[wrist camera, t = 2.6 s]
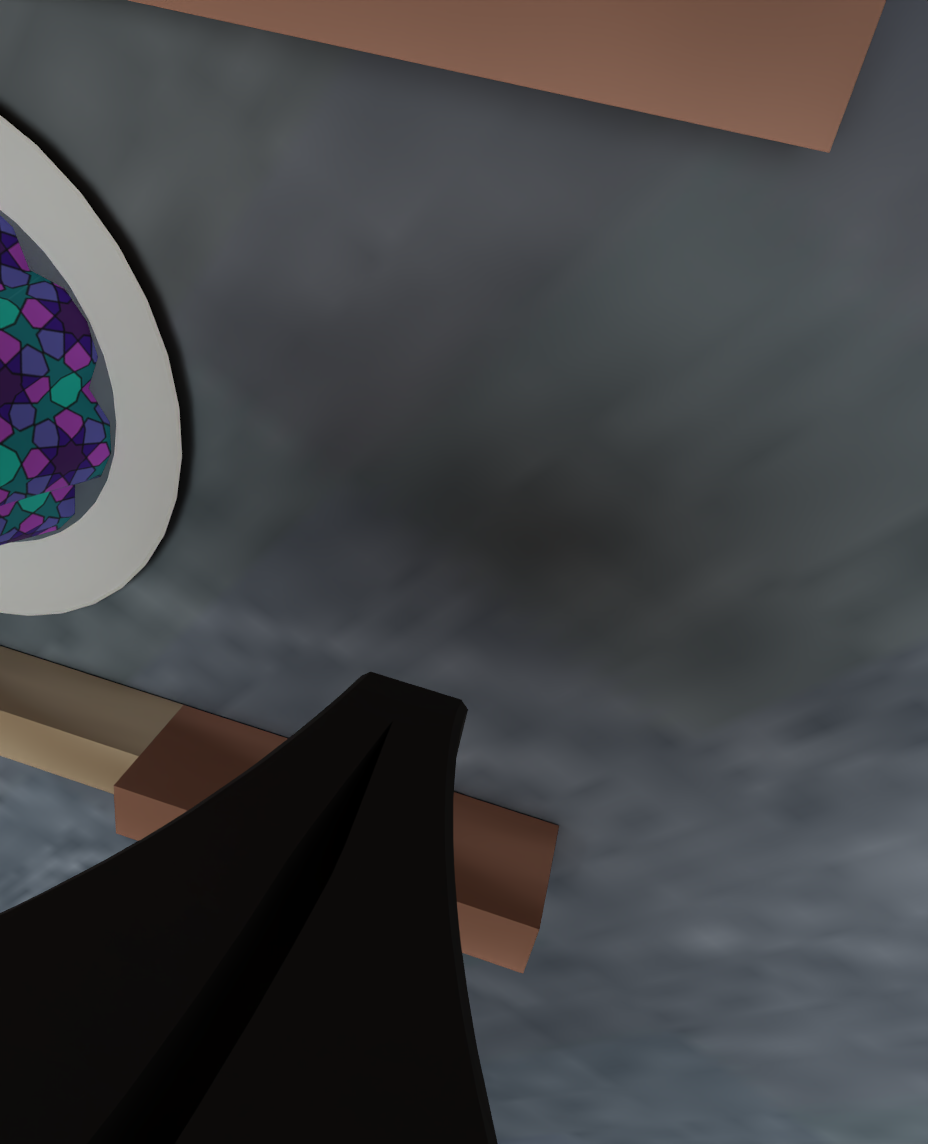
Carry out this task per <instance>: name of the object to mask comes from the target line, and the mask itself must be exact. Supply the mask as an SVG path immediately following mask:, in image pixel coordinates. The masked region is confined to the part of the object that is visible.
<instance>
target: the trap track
mask: <svg viewBox="0 0 928 1144" xmlns="http://www.w3.org/2000/svg"><path fill="white" fill-rule="evenodd" d="M129 1H133V2H138V3H142V4H147V5H152V6H156V7H161V8H165V9H170V10H175V11H179V12H184V13H188V14H193V15H198V16H202V17H207V18H211V19H216V20H221V21H225V22H230V23H235V24H239V25H244V26H248V27H253V28H258V29H262V30H267V31H271V32H276V33H281V34H285V35H290V36H294V37H299V38H304V39H308V40H313V41H317V42H322V43H327V44H331V45H336V46H340V47H345V48H350V49H354V50H359V51H363V52H368V53H373V54H377V55H382V56H386V57H391V58H396V59H400V60H405V61H409V62H414V63H419V64H423V65H428V66H432V67H437V68H442V69H446V70H451V71H455V72H460V73H465V74H469V75H474V76H478V77H483V78H488V79H492V80H497V81H501V82H506V83H511V84H515V85H520V86H524V87H529V88H534V89H538V90H543V91H547V92H552V93H557V94H561V95H566V96H570V97H575V98H580V99H584V100H589V101H593V102H598V103H603V104H607V105H612V106H617V107H621V108H626V109H630V110H635V111H640V112H644V113H649V114H653V115H658V116H663V117H667V118H672V119H676V120H681V121H686V122H690V123H695V124H699V125H704V126H709V127H713V128H718V129H722V130H727V131H732V132H736V133H741V134H745V135H750V136H755V137H759V138H764V139H768V140H773V141H778V142H782V143H787V144H791V145H796V146H801V147H805V148H810V149H814V150H819V151H824V152H828V153H829V152H830V150H831V147H832V144H833V142H834V139H835V136H836V134H837V131H838V128H839V125H840V123H841V120H842V117H843V115H844V112H845V109H846V107H847V104H848V101H849V99H850V96H851V93H852V91H853V88H854V85H855V83H856V80H857V77H858V75H859V72H860V69H861V67H862V64H863V61H864V59H865V56H866V53H867V50H868V48H869V45H870V42H871V40H872V37H873V34H874V32H875V29H876V26H877V24H878V21H879V18H880V16H881V13H882V10H883V8H884V5H885V2H886V0H129ZM287 739H288V738H285V737H281V736H278V735H275V734H272V733H269V732H266V731H263V730H260V729H257V728H254V727H250V726H247V725H244V724H241V723H238V722H235V721H232V720H229V719H226V718H222V717H219V716H216V715H213V714H210V713H207V712H204V711H201V710H198V709H195V708H191V707H188V706H185V705H182V704H179V703H176V702H173V701H170V700H167V699H164V698H160V697H157V696H154V695H151V694H148V693H145V692H142V691H139V690H136V689H133V688H129V687H126V686H123V685H120V684H117V683H114V682H111V681H108V680H105V679H101V678H98V677H95V676H92V675H89V674H86V673H83V672H80V671H77V670H74V669H70V668H67V667H64V666H61V665H58V664H55V663H52V662H49V661H46V660H43V659H39V658H36V657H33V656H30V655H27V654H24V653H21V652H18V651H15V650H11V649H8V648H5V647H2V646H0V756H3V757H6V758H9V759H12V760H15V761H18V762H21V763H24V764H27V765H30V766H33V767H36V768H38V769H41V770H44V771H47V772H50V773H53V774H56V775H59V776H62V777H65V778H68V779H71V780H74V781H77V782H80V783H83V784H86V785H89V786H92V787H94V788H97V789H100V790H103V791H106V792H109V793H112V794H114V803H115V821H116V833H117V834H120V835H123V836H126V837H129V838H132V839H135V840H138V841H139V840H141V839H143V838H144V837H146V836H148V835H149V834H151V833H153V832H154V831H156V830H158V829H159V828H161V827H163V826H164V825H166V824H167V823H169V822H170V821H172V820H174V819H175V818H177V817H178V816H180V815H182V814H183V813H185V812H186V811H188V810H189V809H191V808H192V807H194V806H195V805H197V804H198V803H200V802H201V801H203V800H204V799H206V798H207V797H208V796H210V795H211V794H213V793H214V792H216V791H217V790H219V789H220V788H222V787H223V786H225V785H226V784H227V783H229V782H230V781H232V780H233V779H235V778H236V777H238V776H239V775H241V774H242V773H243V772H245V771H246V770H248V769H249V768H250V767H252V766H253V765H254V764H256V763H257V762H258V761H260V760H261V759H262V758H264V757H265V756H266V755H268V754H269V753H270V752H271V751H273V750H274V749H275V748H277V747H278V746H279V745H281V744H282V743H283V742H284V741H286V740H287ZM558 828H559V826H558V825H555V824H551V823H548V822H545V821H542V820H539V819H536V818H533V817H530V816H527V815H524V814H520V813H517V812H514V811H511V810H508V809H505V808H502V807H499V806H496V805H492V804H489V803H486V802H483V801H480V800H477V799H474V798H471V797H468V796H465V795H461V794H458V793H455V792H454V799H453V840H454V868H455V883H456V897H457V910H458V920H459V931H460V939H461V948H462V953H465V954H468V955H471V956H474V957H477V958H479V959H482V960H485V961H488V962H491V963H494V964H497V965H500V966H503V967H505V968H508V969H511V970H514V971H517V972H520V973H523V972H524V969H525V967H526V964H527V961H528V959H529V956H530V953H531V951H532V948H533V945H534V942H535V940H536V937H537V934H538V932H539V929H540V923H541V918H542V913H543V908H544V902H545V897H546V892H547V886H548V881H549V876H550V871H551V865H552V860H553V855H554V850H555V844H556V839H557V834H558Z"/></svg>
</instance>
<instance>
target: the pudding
mask: <svg viewBox="0 0 928 1144" xmlns="http://www.w3.org/2000/svg"><path fill="white" fill-rule="evenodd" d="M0 210H1V211H2V212H4V213H5V214H6V215H7V216H9V217H10V218H11V219H12V220H14V221H15V222H16V223H17V224H18V225H19V226H20V227H21V228H22V229H23V230H24V231H25V232H26V233H27V234H28V235H29V236H30V238H31V239H32V240H33V241H34V242H35V243H36V244H37V245H38V246H39V247H40V248H41V249H42V250H43V251H44V252H45V253H46V255H47V256H48V257H49V259H50V260H51V261H52V263H53V264H54V265H55V267H56V268H57V269H58V271H59V272H60V274H61V275H62V276H63V278H64V279H65V280H66V282H67V283H68V284H69V286H70V287H71V289H72V291H73V293H74V294H75V296H76V298H77V300H78V301H79V303H80V305H81V307H82V308H83V310H84V312H85V314H86V316H87V317H88V319H89V321H90V323H91V326H92V328H93V331H94V333H95V335H96V338H97V340H98V343H99V345H100V348H101V350H102V353H103V355H104V358H105V362H106V366H107V370H108V373H109V377H110V381H111V385H112V389H113V395H114V405H115V415H116V438H115V452H114V457H113V461H112V465H111V468H110V472H109V476H108V479H107V482H106V484H105V486H104V487H103V489H102V491H101V493H100V495H99V497H98V499H97V501H96V502H95V504H94V505H93V506H92V507H91V508H90V509H89V510H88V511H87V512H86V514H85V515H84V516H83V517H82V518H81V519H80V520H79V521H77V522H76V523H74V524H73V525H71V526H70V527H68V528H67V529H65V530H64V531H62V532H60V533H57V534H54V535H52V536H49V537H46V538H43V539H40V540H33V541H25V542H16V543H15V542H14V541H18V540H21V539H25V538H29V537H32V536H36V535H39V534H43V533H47V532H50V531H54V530H58V529H59V528H60V527H62V526H63V525H64V524H65V523H66V522H67V521H68V520H69V519H70V518H71V517H72V516H73V515H74V514H75V484H78V483H81V482H84V481H87V480H90V479H94V478H97V477H100V476H101V474H102V472H103V470H104V468H105V465H106V463H107V461H108V458H109V456H110V454H111V442H110V422H109V421H108V419H107V417H106V416H105V414H104V413H103V411H102V409H101V408H100V406H99V405H98V403H97V401H96V400H95V398H94V397H93V395H92V393H91V392H90V390H89V385H90V382H91V378H92V375H93V372H94V368H95V365H96V361H97V358H98V356H97V353H96V350H95V347H94V343H93V340H92V337H91V333H90V330H89V327H88V324H87V321H86V320H85V318H84V317H83V315H82V314H81V312H80V311H79V309H78V308H77V306H76V305H75V304H74V302H73V301H72V299H71V298H70V296H69V295H68V293H67V292H66V290H65V289H64V288H62V287H60V286H58V285H56V284H55V283H53V282H51V281H49V280H47V279H45V278H43V277H42V276H40V275H38V274H36V273H34V272H32V271H30V270H29V268H28V265H27V263H26V260H25V257H24V255H23V252H22V250H21V247H20V245H19V242H18V240H17V237H16V234H15V232H14V229H13V227H12V226H11V225H10V224H8V223H7V222H6V221H5V220H4V219H3V218H2V217H1V216H0V613H8V614H18V615H28V616H33V615H45V614H58V613H65V612H69V611H72V610H75V609H79V608H82V607H85V606H89V605H92V604H95V603H97V602H99V601H100V600H102V599H104V598H105V597H107V596H109V595H111V594H112V593H114V592H116V591H118V590H119V589H121V588H123V587H124V586H125V585H126V584H127V583H128V582H129V581H130V580H131V579H132V578H133V577H134V576H135V575H136V574H137V573H138V572H139V571H140V570H141V569H142V568H143V567H144V566H145V565H146V564H147V562H148V561H149V559H150V557H151V556H152V554H153V553H154V551H155V549H156V548H157V546H158V545H159V543H160V541H161V540H162V538H163V536H164V535H165V532H166V529H167V526H168V523H169V520H170V517H171V514H172V511H173V508H174V505H175V502H176V499H177V493H178V484H179V476H180V468H181V460H182V446H181V428H180V410H179V404H178V399H177V395H176V390H175V385H174V381H173V376H172V371H171V367H170V362H169V358H168V354H167V351H166V349H165V346H164V343H163V341H162V338H161V335H160V333H159V330H158V327H157V324H156V322H155V319H154V316H153V314H152V311H151V308H150V306H149V303H148V300H147V299H146V297H145V295H144V293H143V291H142V289H141V287H140V285H139V283H138V282H137V280H136V278H135V276H134V274H133V272H132V270H131V268H130V267H129V265H128V263H127V261H126V259H125V257H124V255H123V253H122V252H121V250H120V248H119V246H118V244H117V243H116V242H115V240H114V239H113V237H112V236H111V235H110V233H109V232H108V230H107V229H106V228H105V226H104V225H103V223H102V222H101V221H100V219H99V218H98V216H97V215H96V213H95V212H94V211H93V209H92V208H91V206H90V205H89V204H88V202H87V201H86V199H85V198H84V197H83V195H82V194H81V192H80V191H79V190H78V189H77V188H76V187H75V186H74V185H73V184H72V183H71V182H70V181H69V180H68V178H67V177H66V176H65V175H64V174H63V173H62V172H61V171H60V170H59V169H58V168H57V167H56V165H55V164H54V163H53V162H52V161H51V160H50V159H49V158H48V157H47V156H46V155H45V154H44V153H43V151H42V150H41V149H40V148H39V147H38V146H37V145H36V144H35V143H34V142H32V141H31V140H30V139H29V138H27V137H26V136H25V135H24V134H23V133H21V132H20V131H19V130H18V129H16V128H15V127H14V126H13V125H12V124H10V123H9V122H8V121H7V120H5V119H4V118H3V117H2V116H1V115H0Z"/></svg>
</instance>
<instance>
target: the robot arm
mask: <svg viewBox="0 0 928 1144" xmlns="http://www.w3.org/2000/svg"><path fill="white" fill-rule="evenodd" d="M467 711H468V709H467V708H466V706H465V705H464V703H463V702H462V700H460V699H457V698H454V697H451V696H447V695H444V694H441V693H438V692H434V691H431V690H428V689H425V688H422V687H418V686H415V685H412V684H409V683H405V682H402V681H399V680H396V679H392V678H389V677H386V676H383V675H379V674H376V673H373V672H369V673H367V674H365V675H362V676H361V677H360V678H359V679H357V680H356V681H355V682H354V683H353V684H352V685H351V686H350V687H349V688H348V689H347V690H346V691H344V692H343V693H342V694H341V695H340V696H339V697H338V698H337V699H336V700H334V701H333V702H332V703H331V704H330V705H329V706H327V707H326V708H325V709H324V710H323V711H322V712H320V713H319V714H318V715H317V716H316V717H314V718H313V719H312V720H311V721H310V722H308V723H307V724H306V725H305V726H303V727H302V728H301V729H300V730H299V731H297V732H296V733H295V734H294V735H292V736H291V737H290V738H288V739H287V740H286V741H284V742H283V743H282V744H281V745H279V746H278V747H277V748H275V749H274V750H273V751H271V752H270V753H269V754H268V755H266V756H265V757H264V758H262V759H261V760H260V761H258V762H257V763H256V764H254V765H253V766H252V767H250V768H249V769H248V770H246V771H245V772H243V773H242V774H241V775H239V776H238V777H236V778H235V779H233V780H232V781H230V782H229V783H227V784H226V785H225V786H223V787H222V788H220V789H219V790H217V791H216V792H214V793H213V794H211V795H210V796H208V797H207V798H206V799H204V800H203V801H201V802H200V803H198V804H197V805H195V806H194V807H192V808H191V809H189V810H188V811H186V812H185V813H183V814H182V815H180V816H178V817H177V818H175V819H174V820H172V821H170V822H169V823H167V824H166V825H164V826H163V827H161V828H159V829H158V830H156V831H154V832H153V833H151V834H149V835H148V836H146V837H144V838H143V839H141V840H139V841H137V842H136V843H134V844H132V845H130V846H129V847H127V848H125V849H124V850H122V851H120V852H118V853H117V854H115V855H113V856H111V857H110V858H108V859H106V860H104V861H102V862H101V863H99V864H97V865H95V866H93V867H91V868H89V869H87V870H85V871H83V872H81V873H80V874H78V875H76V876H74V877H72V878H70V879H68V880H66V881H64V882H62V883H60V884H59V885H57V886H55V887H53V888H51V889H49V890H47V891H45V892H43V893H41V894H39V895H37V896H35V897H33V898H31V899H29V900H27V901H25V902H23V903H21V904H19V905H17V906H15V907H13V908H10V909H8V910H6V911H4V912H2V913H0V1144H497V1139H496V1134H495V1130H494V1125H493V1120H492V1116H491V1111H490V1106H489V1102H488V1097H487V1092H486V1088H485V1083H484V1078H483V1074H482V1069H481V1064H480V1060H479V1055H478V1051H477V1045H476V1040H475V1034H474V1028H473V1022H472V1016H471V1010H470V1004H469V998H468V992H467V985H466V978H465V970H464V963H463V956H462V948H461V939H460V931H459V920H458V910H457V897H456V883H455V868H454V840H453V799H454V779H455V767H456V756H457V752H458V748H459V744H460V740H461V736H462V732H463V727H464V723H465V719H466V715H467Z"/></svg>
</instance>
